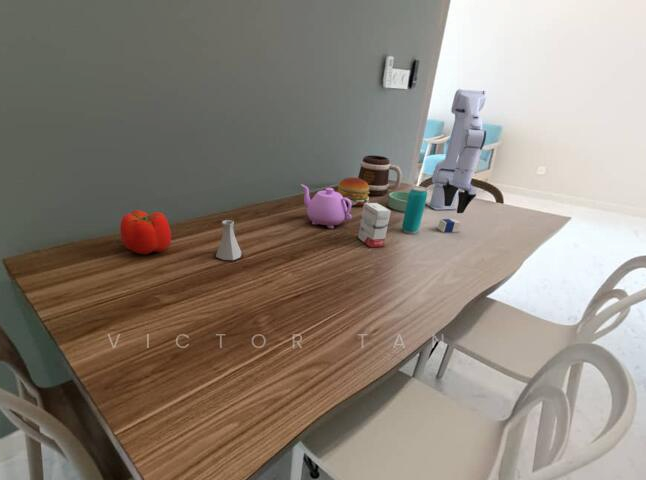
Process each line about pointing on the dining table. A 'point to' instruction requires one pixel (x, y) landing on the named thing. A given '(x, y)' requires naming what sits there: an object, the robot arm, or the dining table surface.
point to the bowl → (398, 200)
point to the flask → (228, 243)
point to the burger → (354, 190)
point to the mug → (378, 174)
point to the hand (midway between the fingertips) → (453, 209)
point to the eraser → (448, 225)
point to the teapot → (327, 207)
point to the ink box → (374, 224)
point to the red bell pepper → (145, 232)
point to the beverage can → (414, 209)
